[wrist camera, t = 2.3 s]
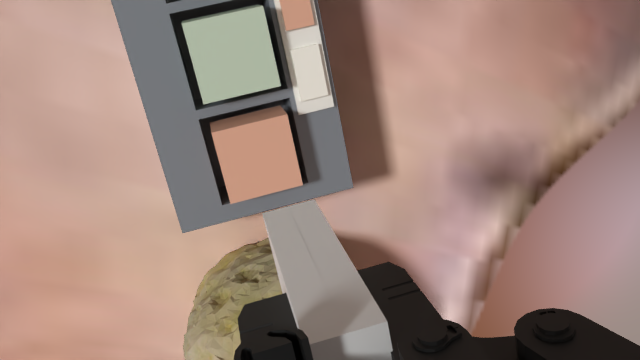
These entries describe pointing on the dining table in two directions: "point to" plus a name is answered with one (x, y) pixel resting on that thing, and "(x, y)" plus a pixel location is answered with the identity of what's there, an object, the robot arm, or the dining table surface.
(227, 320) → the decorative object
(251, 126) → the key
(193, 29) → the key
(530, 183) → the dining table surface
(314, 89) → the keypad
